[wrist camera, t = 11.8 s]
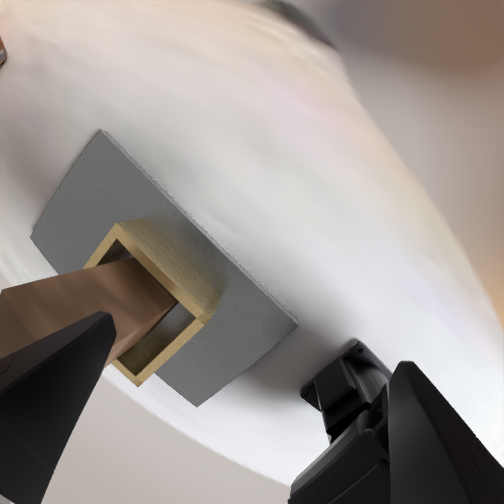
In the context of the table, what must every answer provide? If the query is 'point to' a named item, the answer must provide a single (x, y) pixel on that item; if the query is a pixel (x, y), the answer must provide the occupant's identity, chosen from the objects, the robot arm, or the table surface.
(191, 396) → the base plate
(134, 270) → the brown square block
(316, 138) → the table surface
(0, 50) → the tin
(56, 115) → the table surface
